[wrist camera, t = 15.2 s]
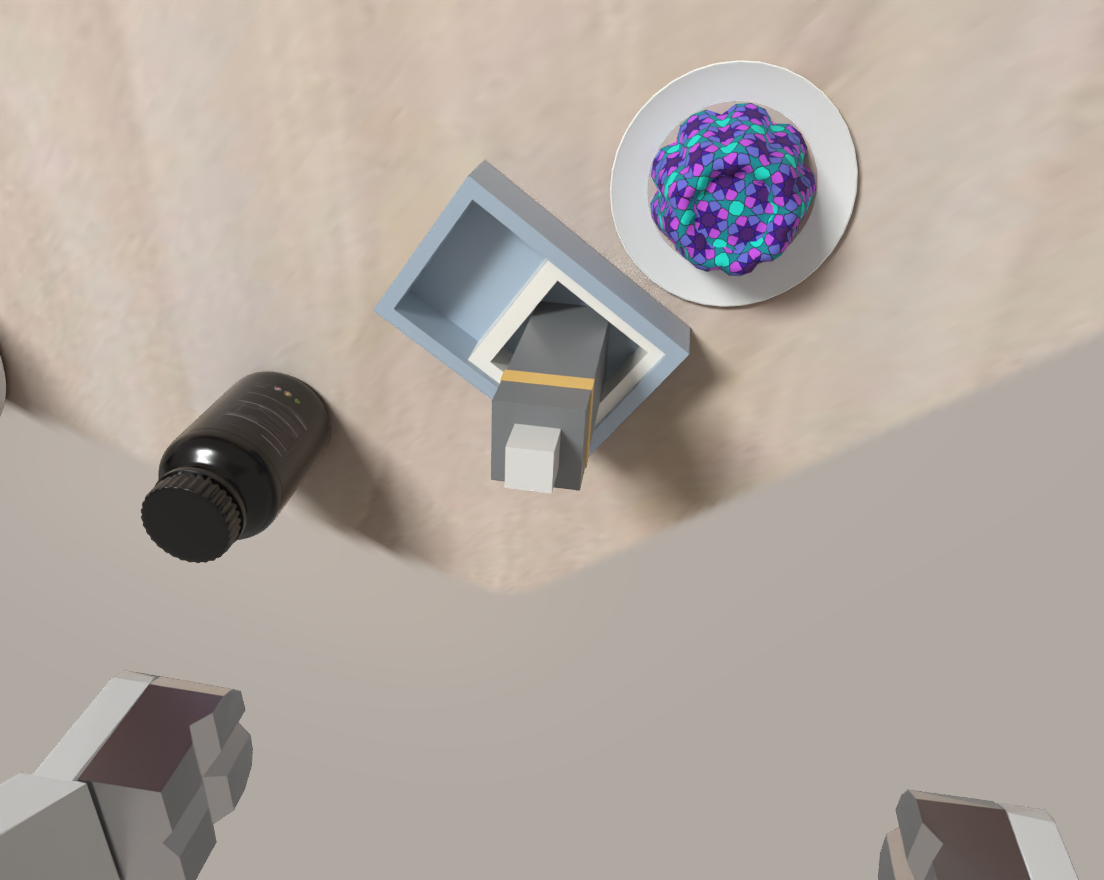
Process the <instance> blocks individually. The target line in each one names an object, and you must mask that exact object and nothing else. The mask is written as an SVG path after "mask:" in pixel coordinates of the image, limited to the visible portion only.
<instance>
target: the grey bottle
mask: <svg viewBox="0 0 1104 880" xmlns="http://www.w3.org/2000/svg"><path fill="white" fill-rule="evenodd" d="M609 333H610V322H609V321H608V320H606V319H605V318H604V317H603V316H601V315H600V314H599V313H598V312H596V311H595V310H594V309H593V308H591V307H590V306H584V305H573V304H563V303H553V302H543V301H540V302H539V303H538V305H537V306H536V307H535V310H534V312H533V314H532V316H531V318H530V320H529V322H528V325H527V327H526V329H525V331H524V333H523V335H522V337H521V340H520V342H519V344H518V346H517V348H516V350H515V352H514V354H513V357H512V359H511V361H510V363H509V365H508V367H507V369H506V370H504V372H503V375H502V377H501V379H500V384H499V387H498V389H497V391H496V393H495V395H494V397H493V399H492V452H491V480H497V481H505V488H511V489H519V490H527V491H535V492H543V493H552V491H553V487H555V488H564V489H572V490H580V488H581V483H582V479H583V474H584V470H585V468H586V467H587V462H588V458H589V448H590V444H591V439H592V435H593V430H594V426H595V421H596V417H597V413H598V408H599V404H600V399H601V395H602V391H603V386H604V382H605V377H606V369H607V357H608V345H609Z"/></svg>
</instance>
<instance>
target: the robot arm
mask: <svg viewBox="0 0 1104 880" xmlns="http://www.w3.org/2000/svg"><path fill="white" fill-rule="evenodd" d="M5 397H6V379H5V372H4V367H3V363H2V360H1V356H0V415H1V413H2V410H3V407H4V403H5ZM244 711H245V706H244V702H243V699H242V694H241V691H237V690H234V689H229V688H223V687H218V686H212V685H207V684H201V683H195V682H190V681H184V680H179V679H173V678H168V677H162V676H155V675H148V674H143V673H137V672H131V671H123V672H121V673H120V674H118V675H116V676H114V677H113V678H112V679H110V681H109V682H108V683H107V684H106V685H105V687H104V688H103V689H102V690H101V692H100V693H99V694H98V695H97V696H96V698H95V699H94V700H93V701H92V702H91V704H90V705H89V706H88V707H87V709H86V710H85V711H84V712H83V714H82V715H81V716H80V717H79V718H78V720H77V721H76V722H75V723H74V725H73V726H72V727H71V728H70V730H69V731H68V732H67V733H66V734H65V736H64V737H63V738H62V739H61V740H60V742H59V743H58V744H57V745H56V747H55V748H54V749H53V750H52V752H51V753H50V754H49V755H48V756H47V758H46V759H45V760H44V761H43V762H42V764H41V765H40V766H39V767H38V769H37V770H36V771H35V772H34V773H33V774H32V773H24V772H21V773H20V774H18V775H16V776H14V777H12V778H10V779H9V780H7V781H5V782H3V783H1V784H0V880H196V879H197V877H198V875H199V873H200V871H201V870H202V868H203V866H204V864H205V862H206V860H207V859H208V857H209V855H210V853H211V851H212V849H213V848H214V846H215V844H216V836H215V831H214V825H213V824H214V823H216V822H217V821H219V820H220V819H222V818H223V817H225V816H226V815H228V814H229V813H231V812H232V811H233V810H234V809H235V807H236V805H237V803H238V801H239V799H240V797H241V796H242V794H243V792H244V789H245V786H246V783H247V780H248V777H249V773H250V770H251V766H252V750H253V749H252V742H251V736H250V734H249V733H248V732H247V731H246V730H245V729H244V728H243V727H242V726H241V725H240V724H239V723H238V722H239V720H240V718H241V717H242V715H243V713H244ZM896 814H897V818H898V822H899V827H898V828H897V829H895V830H893V831H891V832H890V833H888V834H886V837H885V840H884V843H883V846H882V849H881V852H880V861H879V873H878V880H1079V879H1078V877H1077V874H1076V872H1075V869H1074V867H1073V864H1072V862H1071V860H1070V857H1069V855H1068V852H1067V850H1066V848H1065V845H1064V843H1063V841H1062V838H1061V836H1060V833H1059V831H1058V828H1057V826H1056V824H1055V821H1054V819H1053V818H1052V817H1051V816H1050V814H1049V813H1048V812H1047V811H1046V810H1042V809H1035V808H1029V807H1022V806H1016V805H1009V804H1002V803H995V802H993V801H987V800H980V799H973V798H965V797H957V796H951V795H943V794H936V793H929V792H922V791H914V790H907V791H906V792H905V793H903V794H902V795H901V798H900V800H899V803H898V805H897V807H896Z"/></svg>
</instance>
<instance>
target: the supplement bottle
mask: <svg viewBox="0 0 1104 880" xmlns="http://www.w3.org/2000/svg"><path fill="white" fill-rule="evenodd" d="M330 430H331V428H330V420H329V417H328V413H327V411H326V409H325V407H324V405H323V403H322V401H321V400H320V399H319V397H318V396H317V395H316V394H315V393H314V392H313V391H312V390H311V389H310V388H309V387H308V386H307V385H305V384H304V383H303V382H301V381H299V380H298V379H296V378H294V377H291V376H289V375H286V374H282V373H278V372H257V373H254V374H250V375H248V376H246V377H244V378H242V379H241V380H239V381H238V382H236V383H235V384H234V385H233V386H232V387H231V388H230V389H229V390H227V391H226V392H225V393H224V394H223V395H222V396H221V397H220V398H219V399H218V400H217V401H216V402H215V403H214V404H212V405H211V406H210V407H209V408H208V409H207V410H206V411H205V412H204V413H203V414H202V415H201V416H200V417H199V418H198V419H196V420H195V421H194V422H193V423H192V424H191V425H190V426H189V427H188V428H187V429H186V430H185V431H184V432H183V433H182V434H180V435H179V436H178V437H177V438H176V439H175V440H174V441H173V442H172V443H171V444H170V445H169V447H168V448H167V449H166V451H165V452H164V454H163V456H162V458H161V461H160V465H159V481H158V482H157V483H156V485H155V487H154V488H153V489H152V490H151V491H150V492H149V493H148V494H147V495H146V497H145V500H144V502H143V503H142V507H143V508H142V509H141V513H142V516H141V519H142V521H143V526H144V527H145V529H146V532H147V534H148V535H150V537H151V540H153V541H154V542H155V543H156V544H157V546H158V547H160V548H162V549H163V550H164V551H165V552H167V553H169V554H171V555H172V556H173V557H177V558H179V559H180V560H186V561H188V562H197V563H200V562H208V561H214V560H215V559H216V558H219V557H221V556H222V555H223V554H224V553H225V552H226V551H227V550H228V549H229V548H230V547H231V545H232V544H233V543H234V542H235V541H236V540H241V539H245V538H249V537H252V536H254V535H257V534H259V533H260V532H262V531H264V530H265V529H266V528H267V527H268V526H269V525H270V524H271V523H272V522H273V521H274V520H275V518H276V517H277V516H278V514H279V513H280V512H281V510H282V509H283V508H284V506H285V505H286V504H287V502H288V501H289V500H290V498H291V497H292V495H293V494H294V493H295V491H296V490H297V489H298V487H299V486H300V485H301V483H302V482H303V481H304V479H305V478H306V476H307V475H308V474H309V472H310V471H311V470H312V468H313V467H314V466H315V464H316V463H317V462H318V460H319V459H320V457H321V456H322V454H323V453H324V451H325V449H326V448H327V445H328V443H329V439H330Z"/></svg>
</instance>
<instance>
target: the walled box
mask: <svg viewBox="0 0 1104 880" xmlns="http://www.w3.org/2000/svg"><path fill="white" fill-rule="evenodd" d="M540 301H543V302H553V303H563V304H573V305H584V306H590V307H591V308H593V309H594V310H595V311H596V312H598V313H599V314H600V315H601V316H603V317H604V318H605V319H606V320H608V321H609V322H610V333H609V345H608V357H607V369H606V377H605V382H604V386H603V391H602V395H601V399H600V404H599V408H598V413H597V417H596V421H595V426H594V430H593V435H592V439H591V444H590V448H589V456H590V455H591V454H592V453H593V452H594V451H595V450H596V449H597V448H598V447H599V446H600V445H601V444H602V443H603V442H604V441H605V440H606V439H607V438H608V437H609V436H610V435H611V434H612V433H613V431H614V430H615V429H616V428H617V427H618V426H619V425H620V424H621V423H622V422H623V421H624V420H625V419H626V418H627V417H628V416H629V415H630V414H631V413H632V412H633V411H634V410H635V409H636V408H637V407H638V406H639V405H640V404H641V403H642V402H643V401H644V400H645V399H646V398H647V397H648V396H649V395H650V394H651V393H652V392H653V391H654V390H655V389H656V388H657V387H658V386H659V385H660V384H661V383H662V382H663V381H664V380H665V379H666V378H667V377H668V375H669V374H670V373H671V372H672V371H673V370H674V369H675V368H676V367H677V366H678V365H679V364H680V363H681V362H682V361H683V360H684V359H685V358H686V357H687V356H688V355H689V349H690V327H689V326H688V325H686V324H685V323H684V322H683V321H681V320H680V319H679V318H678V317H677V316H675V315H674V314H673V313H672V312H670V311H669V310H668V309H667V308H666V307H664V306H663V305H662V304H661V303H659V302H658V301H657V300H656V299H655V298H653V297H652V296H651V295H650V294H648V293H647V292H646V291H645V290H644V289H642V288H641V287H640V286H639V285H637V284H636V283H635V282H634V281H633V280H631V279H630V278H629V277H628V276H626V275H625V274H624V273H623V272H622V271H620V270H619V269H618V268H617V267H615V266H614V265H613V264H612V263H611V262H609V261H608V260H607V259H606V258H604V257H603V256H602V255H601V254H600V253H598V252H597V251H596V250H595V249H593V248H592V247H591V246H590V245H588V244H587V243H586V242H585V241H584V240H582V239H581V238H580V237H579V236H577V235H576V234H575V233H574V232H573V231H571V230H570V229H569V228H568V227H566V226H565V225H564V224H563V223H562V222H560V221H559V220H558V219H557V218H555V217H554V216H553V215H552V214H551V213H549V212H548V211H547V210H546V209H544V208H543V207H542V206H541V205H540V204H538V203H537V202H536V201H535V200H533V199H532V198H531V197H530V196H529V195H527V194H526V193H525V192H524V191H522V190H521V189H520V188H519V187H518V186H516V185H515V184H514V183H513V182H511V181H510V180H509V179H508V178H507V177H505V176H504V175H503V174H502V173H500V172H499V171H498V170H497V169H496V168H494V167H493V166H492V165H491V164H489V163H488V162H487V161H486V160H484V161H483V162H482V163H481V164H480V165H479V166H478V167H477V168H476V169H475V170H474V171H472V172H471V173H470V174H469V175H468V177H467V178H466V179H465V181H464V182H463V184H462V185H461V187H460V188H459V189H458V191H457V192H456V194H455V195H454V197H453V198H452V199H451V201H450V202H449V204H448V205H447V206H446V208H445V209H444V211H443V212H442V214H441V215H440V216H439V218H438V219H437V221H436V222H435V223H434V225H433V226H432V228H431V229H430V231H429V232H428V233H427V235H426V236H425V238H424V239H423V241H422V242H421V243H420V245H419V246H418V248H417V249H416V250H415V252H414V253H413V255H412V256H411V258H410V259H409V260H408V262H407V263H406V265H405V266H404V267H403V269H402V270H401V272H400V273H399V275H398V276H397V277H396V279H395V280H394V282H393V283H392V285H391V286H390V287H389V289H388V290H387V292H386V293H385V294H384V296H383V297H382V299H381V300H380V302H379V303H378V304H377V306H376V307H375V309H374V310H373V311H374V312H376V313H377V314H378V315H380V316H381V317H382V318H384V319H385V320H386V321H388V322H389V323H390V324H392V325H393V326H394V327H396V328H397V329H398V330H400V331H401V332H402V333H404V334H405V335H406V336H408V337H409V338H410V339H412V340H413V341H414V342H416V343H417V344H418V345H420V346H421V347H422V348H424V349H425V350H426V351H428V352H429V353H430V354H432V355H433V356H434V357H436V358H437V359H438V360H440V361H441V362H442V363H444V364H445V365H446V366H448V367H449V368H450V369H452V370H453V371H454V372H456V373H457V374H458V375H460V376H461V377H462V378H464V379H465V380H467V381H468V382H469V383H471V384H472V385H473V386H475V387H476V388H477V389H479V390H480V391H481V392H483V393H484V394H485V395H487V396H488V397H489V398H491V399H493V397H494V395H495V393H496V391H497V389H498V387H499V384H500V379H501V377H502V375H503V372H504V370H506V369H507V367H508V365H509V363H510V361H511V359H512V357H513V354H514V352H515V350H516V348H517V346H518V344H519V342H520V340H521V337H522V335H523V333H524V331H525V329H526V327H527V325H528V322H529V320H530V318H531V316H532V314H533V312H534V310H535V307H536V306H537V305H538V303H539V302H540Z"/></svg>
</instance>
